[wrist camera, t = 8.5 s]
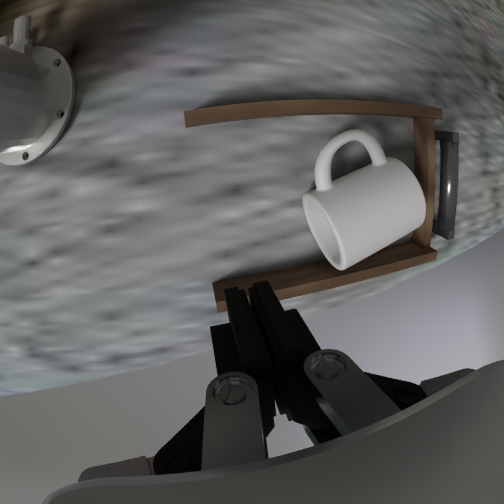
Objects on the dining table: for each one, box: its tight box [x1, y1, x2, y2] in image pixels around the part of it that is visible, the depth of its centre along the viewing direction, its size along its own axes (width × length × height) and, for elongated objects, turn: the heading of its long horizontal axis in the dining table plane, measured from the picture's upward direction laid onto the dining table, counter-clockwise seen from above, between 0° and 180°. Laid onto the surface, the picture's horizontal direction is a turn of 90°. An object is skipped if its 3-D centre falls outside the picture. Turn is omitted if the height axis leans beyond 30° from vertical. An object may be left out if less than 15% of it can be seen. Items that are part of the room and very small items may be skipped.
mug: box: [303, 129, 426, 270], centre depth 26 cm, size 12×10×8 cm
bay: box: [184, 99, 459, 313], centre depth 28 cm, size 18×30×4 cm, turn 97°
